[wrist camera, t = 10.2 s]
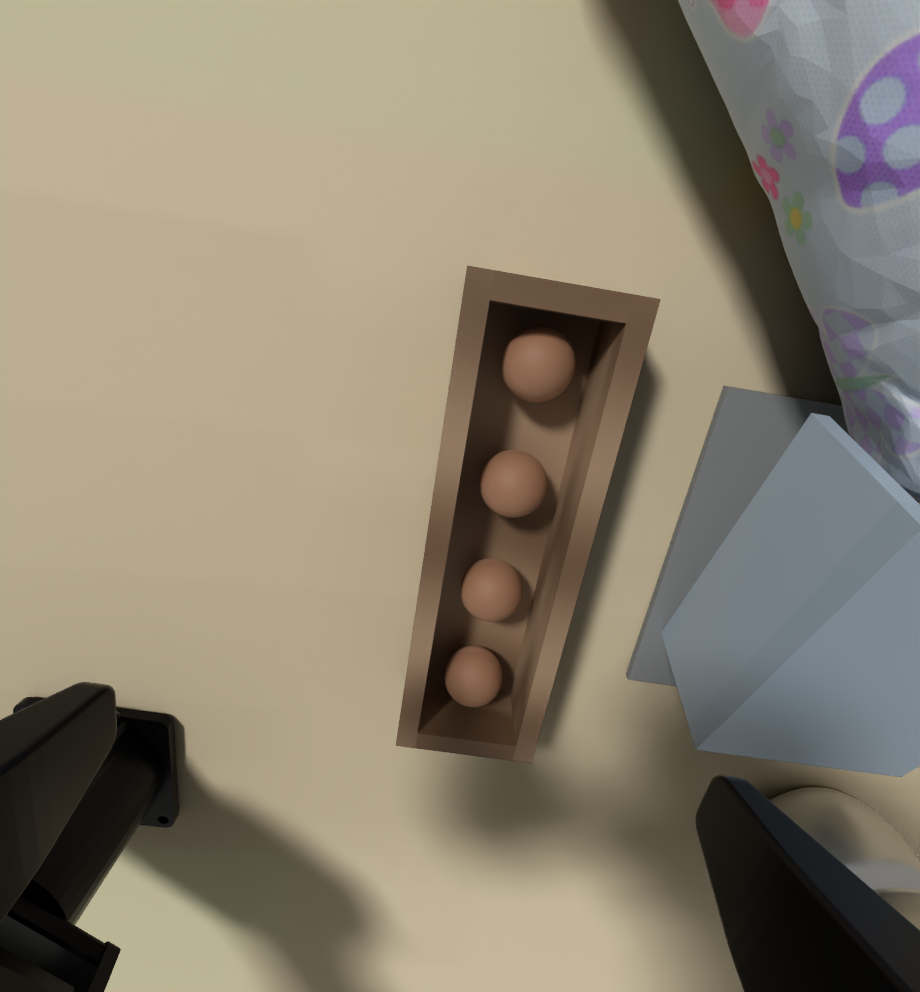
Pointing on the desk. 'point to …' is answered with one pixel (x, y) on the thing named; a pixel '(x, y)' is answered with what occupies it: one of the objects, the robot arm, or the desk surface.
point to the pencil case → (838, 185)
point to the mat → (719, 503)
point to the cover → (809, 618)
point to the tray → (528, 537)
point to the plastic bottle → (859, 843)
